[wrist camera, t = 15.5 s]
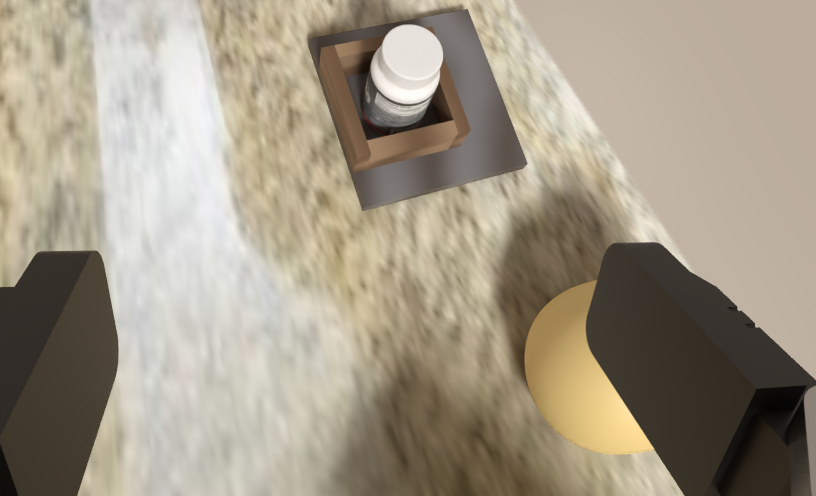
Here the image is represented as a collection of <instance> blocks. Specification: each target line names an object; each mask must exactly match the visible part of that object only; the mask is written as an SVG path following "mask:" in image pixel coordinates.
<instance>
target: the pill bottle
mask: <svg viewBox="0 0 816 496" xmlns="http://www.w3.org/2000/svg"><path fill="white" fill-rule="evenodd" d="M442 61H443V50H442V46H441V44H440V42H439V40H438V39H437V38H436V36H435V35H434V34H433V33H431V32H430V31H429V30H427V29H425V28H423V27H421V26H417V25H410V24H408V25H401V26H398V27H396V28H394V29H392V30H391V31H390V32H389V33H388V34H387V35H386V36H385V38H384V40H383V43H382V46H380V47H379V48H378V50H377V51H376V52H375V54H374V56H373V59H372V62H371V65H370V69H369V74H368V78H367V82H366V87H365V91H364V95H363V99H362V113H363V117H364V119H365V121H366V123H367V124H368V125H369V126H370V127H371V128H372V129H373V130H374V131H375V132H377V133H378V134H380V135H382V136H388V135H393V134H397V133H401V132H405V131H410V130H414V129H416V128H417V127H418V126H419V124H420V123H421V121H422V118H423V116H424V114H425V111H426V109H427V107H428V105H429V103H430V100H431V98H432V96H433V94H434V92H435V90H436V88H437V86H438V83H439V79H440V67H441V65H442Z"/></svg>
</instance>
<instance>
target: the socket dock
mask: <svg viewBox="0 0 816 496" xmlns="http://www.w3.org/2000/svg"><path fill="white" fill-rule="evenodd" d="M408 24H410V25H417V26H421V27H423V28H425V29H427V30H429V31H430V32H431V33H433V34H434V35H435V36H436V38H437V39H438V40H439V42H440V44H441V46H442V50H443V61H442V65H441V67H440V79H439V83H438V86H437V88H436V90H435V92H434V94H433V96H432V98H431V100H430V103H429V105H428V107H427V109H426V111H425V114H424V116H423V118H422V121H421V123H420V124H419V126H418V127H417V128H416V129H414V130H410V131H405V132H401V133H397V134H393V135H388V136H382V135H380V134H378V133H377V132H375V131H374V130H373V129H372V128H371V127H370V126H369V125H368V124H367V123H366V121H365V119H364V117H363V113H362V99H363V95H364V91H365V87H366V82H367V78H368V74H369V69H370V65H371V62H372V59H373V56H374V54H375V52H376V51H377V50H378V48H379V47H380V46H382V43H383V40H384V38H385V36H386V35H387V34H388V33H389V32H390V31H391V30H392V29H394V28H396V27H398V26H401V25H408ZM308 46H309V49H310V53H311V56H312V59H313V62H314V65H315V68H316V71H317V74H318V77H319V80H320V83H321V86H322V89H323V92H324V95H325V98H326V101H327V104H328V107H329V110H330V113H331V116H332V119H333V122H334V125H335V128H336V132H337V135H338V138H339V141H340V144H341V147H342V150H343V153H344V156H345V159H346V162H347V165H348V168H349V171H350V174H351V177H352V180H353V183H354V186H355V189H356V192H357V195H358V198H359V201H360V204H361V207H362V211H365V210H369V209H372V208H376V207H380V206H384V205H387V204H391V203H395V202H399V201H403V200H406V199H410V198H414V197H418V196H421V195H425V194H429V193H433V192H437V191H440V190H444V189H448V188H452V187H455V186H459V185H463V184H467V183H470V182H474V181H478V180H482V179H486V178H489V177H493V176H497V175H501V174H504V173H508V172H512V171H516V170H519V169H523V168H524V167H525V166H526V165H527V164H528V163H527V161H526V158H525V156H524V153H523V151H522V148H521V145H520V143H519V140H518V138H517V135H516V133H515V130H514V127H513V125H512V122H511V120H510V117H509V115H508V112H507V109H506V107H505V104H504V102H503V99H502V97H501V94H500V91H499V89H498V86H497V84H496V81H495V79H494V76H493V73H492V71H491V68H490V66H489V63H488V61H487V58H486V55H485V53H484V50H483V48H482V45H481V42H480V40H479V37H478V35H477V32H476V30H475V27H474V24H473V22H472V19H471V17H470V14H469V12H468V9H465V10H460V11H455V12H449V13H444V14H439V15H433V16H428V17H423V18H417V19H412V20H407V21H401V22H396V23H391V24H385V25H380V26H375V27H369V28H364V29H359V30H353V31H348V32H343V33H337V34H332V35H327V36H321V37H316V38H311V39H309V45H308Z"/></svg>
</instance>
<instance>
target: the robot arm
mask: <svg viewBox="0 0 816 496" xmlns="http://www.w3.org/2000/svg"><path fill="white" fill-rule="evenodd" d="M586 338H587V343H588V346H589V349H590V351H591V353H592V355H593V356H594V358H595V359H596V361H597V362H598V364H599V365H600V367H601V369H602V370H603V372H604V373H605V375H606V376H607V378H608V379H609V381H610V382H611V384H612V385H613V387H614V388H615V390H616V391H617V393H618V395H619V396H620V398H621V399H622V401H623V402H624V404H625V405H626V407H627V408H628V410H629V411H630V413H631V414H632V416H633V417H634V419H635V420H636V422H637V424H638V425H639V427H640V428H641V430H642V431H643V433H644V434H645V436H646V437H647V439H648V440H649V442H650V443H651V445H652V446H653V448H654V449H655V451H656V453H657V454H658V456H659V457H660V459H661V460H662V462H663V463H664V465H665V466H666V468H667V469H668V471H669V472H670V474H671V475H672V477H673V479H674V480H675V482H676V483H677V485H678V486H679V488H680V489H681V491H682V492H683V494H684V495H685V496H816V380H815V379H814V378H813V377H812V376H810V375H809V374H808V373H807V372H806V371H805V370H804V369H803V368H802V367H801V366H800V365H799V364H798V363H796V361H795V360H794V359H792V358H791V357H790V356H789V355H788V354H787V353H786V352H785V351H784V350H783V349H782V348H781V347H780V346H779V345H778V344H777V343H775V342H774V341H773V340H772V339H771V338H770V337H769V336H768V335H767V334H766V333H765V332H764V331H763V330H762V329H761V328H755V323H754V322H753V321H752V320H751V319H750V318H749V317H748V316H747V315H746V314H744V313H743V312H742V311H738V310H737V306H736V305H735V304H734V303H733V302H732V301H731V300H730V299H729V298H728V297H727V296H725V295H724V294H723V293H722V292H721V291H720V290H719V289H718V288H717V287H716V286H714V285H712V284H710V283H709V282H707V281H705V280H703V279H702V278H700V277H698V276H697V275H695V274H693V273H691V272H690V271H689V270H688V269H687V268H686V267H684V266H683V265H682V264H681V263H680V262H679V261H678V260H677V259H676V258H675V257H674V256H673V255H672V254H671V253H670V252H669V251H668V250H667V249H666V248H665V247H664V246H662V245H661V244H659V243H655V242H650V243H614V244H612V245H611V246H610V247H609V248H608V249H607V251H606V253H605V255H604V258H603V261H602V265H601V268H600V272H599V275H598V279H597V283H596V286H595V290H594V293H593V297H592V300H591V304H590V307H589V311H588V314H587V318H586ZM117 366H118V337H117V331H116V325H115V320H114V315H113V310H112V304H111V299H110V294H109V289H108V283H107V278H106V273H105V268H104V263H103V260H102V257H101V255H100V254H99V252H98V251H42V252H38V253H37V254H36V255H35V256H34V258H33V259H32V261H31V262H30V264H29V265H28V267H27V268H26V270H25V272H24V273H23V275H22V276H21V278H20V279H19V281H18V283H17V284H16V286H15V287H0V496H77V494H78V491H79V488H80V485H81V482H82V479H83V476H84V473H85V470H86V467H87V463H88V460H89V457H90V454H91V451H92V448H93V445H94V442H95V439H96V436H97V433H98V430H99V427H100V423H101V420H102V417H103V414H104V411H105V408H106V405H107V402H108V399H109V396H110V393H111V390H112V387H113V383H114V380H115V377H116V372H117Z"/></svg>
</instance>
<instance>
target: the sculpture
mask: <svg viewBox="0 0 816 496" xmlns="http://www.w3.org/2000/svg"><path fill="white" fill-rule="evenodd" d="M596 283H597V280H594V281H591V282H587V283H583V284H580V285H578V286H575V287H573V288H570V289H568V290H566V291H564V292H563V293H561V294H559V295H558V296H556V297H555V298H554V299H552V300H551V301H550V302H549V303H548V304H547V305H546V306H545V307H544V308H543V309H542V310H541V311H540V313H539V314H538V315H537V317H536V318H535V320H534V322H533V324H532V326H531V328H530V331H529V334H528V337H527V341H526V347H525V373H526V378H527V383H528V386H529V390H530V392H531V395H532V397H533V400H534V402H535V404H536V406H537V407H538V409H539V411H540V412H541V414H542V415H543V417H544V418H545V419H546V421H547V422H548V423H549V424H550V425H551V427H552V428H553V429H554V430H555V431H557V432H558V433H559V434H560V435H561V436H563V437H564V438H565V439H567V440H568V441H570V442H572V443H573V444H575V445H577V446H580V447H582V448H585V449H587V450H591V451H594V452H599V453H605V454H632V453H639V452H645V451H651V450H655V449H654V448H653V446H652V445H651V443H650V442H649V440H648V439H647V437H646V436H645V434H644V433H643V431H642V430H641V428H640V427H639V425H638V424H637V422H636V420H635V419H634V417H633V416H632V414H631V413H630V411H629V410H628V408H627V407H626V405H625V404H624V402H623V401H622V399H621V398H620V396H619V395H618V393H617V391H616V390H615V388H614V387H613V385H612V384H611V382H610V381H609V379H608V378H607V376H606V375H605V373H604V372H603V370H602V369H601V367H600V365H599V364H598V362H597V361H596V359H595V358H594V356H593V355H592V353H591V351H590V349H589V346H588V343H587V338H586V318H587V314H588V311H589V307H590V304H591V300H592V297H593V293H594V290H595V286H596Z"/></svg>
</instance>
